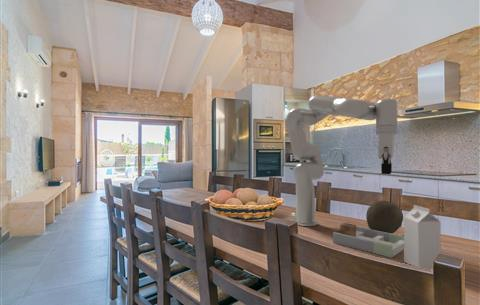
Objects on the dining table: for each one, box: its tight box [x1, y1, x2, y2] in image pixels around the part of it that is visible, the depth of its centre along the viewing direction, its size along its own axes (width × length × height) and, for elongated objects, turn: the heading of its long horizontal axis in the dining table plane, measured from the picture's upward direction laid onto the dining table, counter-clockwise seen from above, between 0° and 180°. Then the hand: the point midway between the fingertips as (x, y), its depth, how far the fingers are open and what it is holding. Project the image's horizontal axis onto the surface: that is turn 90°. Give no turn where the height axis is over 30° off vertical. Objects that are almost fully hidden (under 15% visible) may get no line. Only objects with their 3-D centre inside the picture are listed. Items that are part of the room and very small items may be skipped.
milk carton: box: [403, 204, 442, 269], centre depth 86 cm, size 7×7×19 cm
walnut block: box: [339, 222, 357, 237], centre depth 110 cm, size 4×4×4 cm
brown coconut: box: [365, 200, 404, 234], centre depth 119 cm, size 14×14×15 cm
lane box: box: [332, 226, 404, 259], centre depth 107 cm, size 22×16×4 cm
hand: (386, 173), depth 108 cm, fingers open, 9 cm apart
